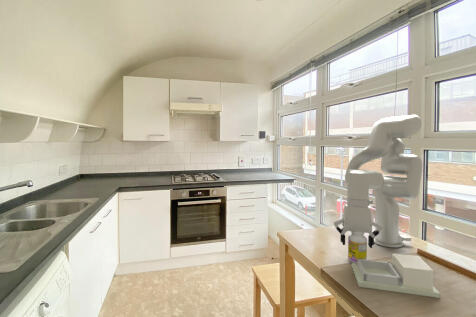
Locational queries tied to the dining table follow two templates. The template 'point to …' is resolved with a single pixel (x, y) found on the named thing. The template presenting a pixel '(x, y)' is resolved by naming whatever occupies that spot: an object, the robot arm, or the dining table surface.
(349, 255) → the supplement bottle
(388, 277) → the square frame tray
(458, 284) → the dining table surface
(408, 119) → the robot arm
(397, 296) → the dining table surface
